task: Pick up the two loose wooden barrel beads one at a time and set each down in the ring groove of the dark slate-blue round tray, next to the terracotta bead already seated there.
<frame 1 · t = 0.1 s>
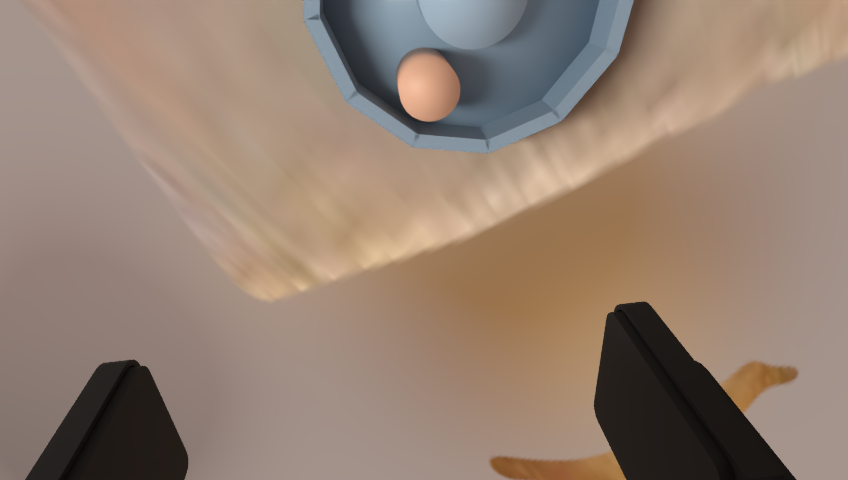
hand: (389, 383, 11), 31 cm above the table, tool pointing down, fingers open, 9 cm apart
bead c: (423, 76, 37), point 1 cm above the table, touching tray
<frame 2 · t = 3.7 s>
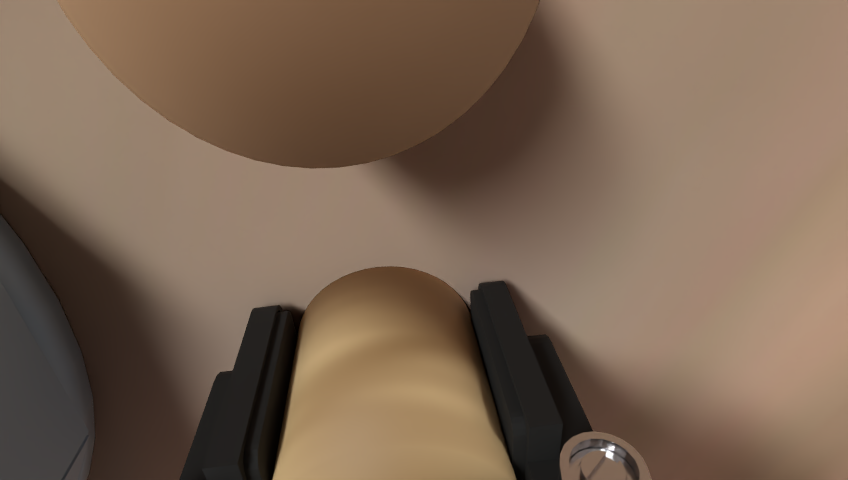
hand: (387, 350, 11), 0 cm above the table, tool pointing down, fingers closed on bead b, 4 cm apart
bead b: (387, 339, 12), on the table, touching gripper
when the fingers open (3 cm above the table, at t = 8.0 s): bead b drops 2 cm, resting on tray.
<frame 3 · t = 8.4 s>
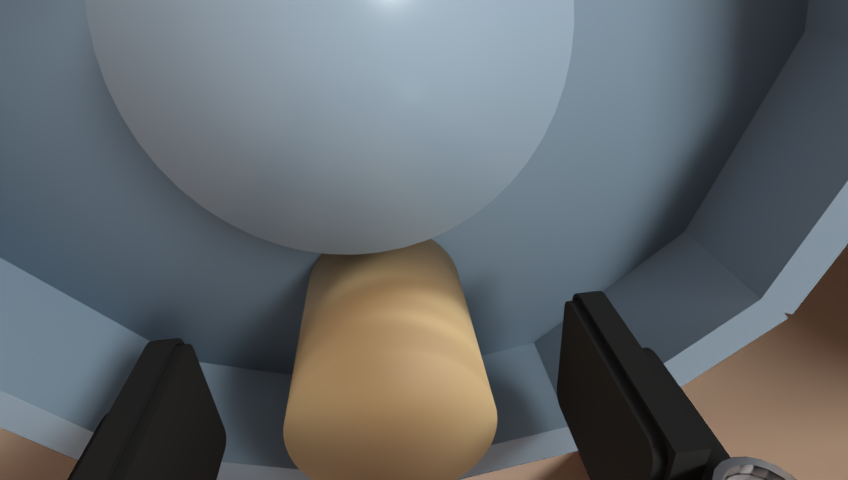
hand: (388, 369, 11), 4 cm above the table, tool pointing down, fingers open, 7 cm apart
bead b: (384, 293, 13), point 1 cm above the table, touching tray
tray: (350, 20, 11), on the table
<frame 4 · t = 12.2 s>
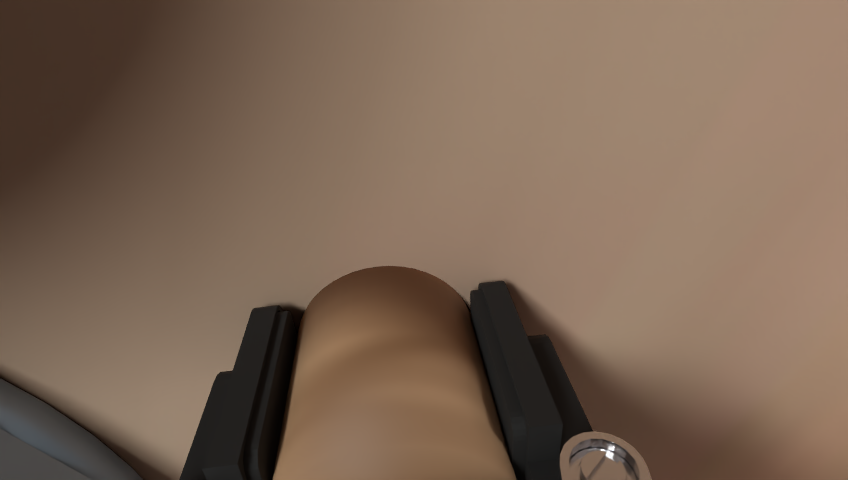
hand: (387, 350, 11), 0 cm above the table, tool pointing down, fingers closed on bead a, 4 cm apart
bead a: (387, 339, 12), on the table, touching gripper
when the fingers open (3 cm above the table, at t = 17.3 s): bead a drops 2 cm, resting on tray.
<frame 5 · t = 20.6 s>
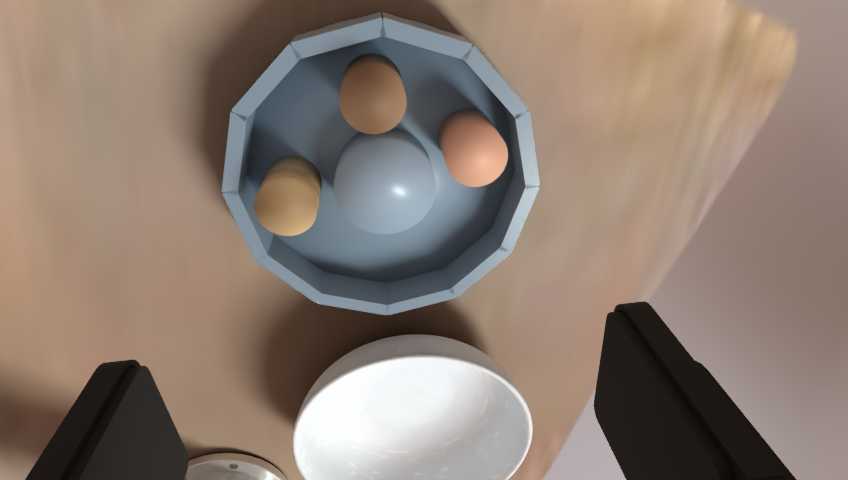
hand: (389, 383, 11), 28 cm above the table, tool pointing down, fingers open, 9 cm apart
bead c: (465, 136, 37), point 1 cm above the table, touching tray
bead a: (372, 84, 34), point 1 cm above the table, touching tray
serving bowl: (408, 387, 50), on the table
bead b: (294, 182, 37), point 1 cm above the table, touching tray
tray: (383, 167, 38), on the table
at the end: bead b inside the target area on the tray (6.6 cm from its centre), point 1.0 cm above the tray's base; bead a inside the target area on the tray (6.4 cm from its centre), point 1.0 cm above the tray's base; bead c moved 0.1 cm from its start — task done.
